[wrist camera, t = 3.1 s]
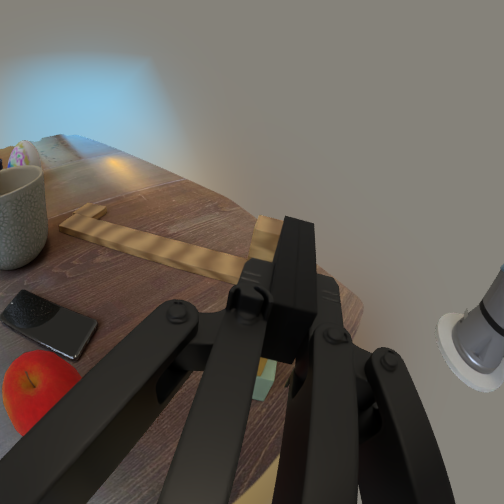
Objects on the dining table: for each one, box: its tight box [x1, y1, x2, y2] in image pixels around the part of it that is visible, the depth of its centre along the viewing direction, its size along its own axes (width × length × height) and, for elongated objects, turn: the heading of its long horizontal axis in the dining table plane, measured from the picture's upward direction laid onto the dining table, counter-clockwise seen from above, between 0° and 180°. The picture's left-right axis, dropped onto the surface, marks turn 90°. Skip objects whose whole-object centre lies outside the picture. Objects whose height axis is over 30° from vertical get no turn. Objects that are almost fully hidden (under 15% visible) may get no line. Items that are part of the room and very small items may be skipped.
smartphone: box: [0, 290, 98, 361], centre depth 29 cm, size 7×1×16 cm
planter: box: [0, 165, 48, 270], centre depth 35 cm, size 17×17×15 cm
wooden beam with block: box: [59, 203, 284, 285], centre depth 48 cm, size 49×14×12 cm, turn 80°
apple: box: [2, 350, 82, 436], centre depth 17 cm, size 9×9×12 cm
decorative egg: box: [8, 140, 41, 168], centre depth 60 cm, size 12×12×15 cm
